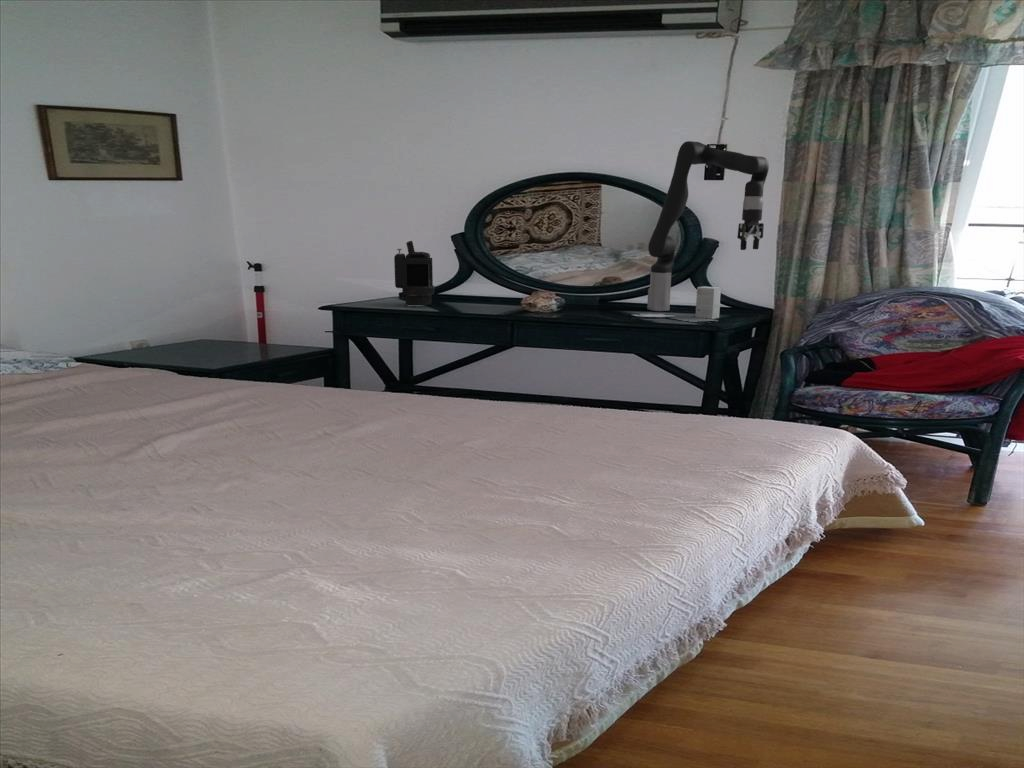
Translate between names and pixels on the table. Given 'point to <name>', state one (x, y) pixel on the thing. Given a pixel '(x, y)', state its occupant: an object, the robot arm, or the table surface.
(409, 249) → the black boxy device
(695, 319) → the mat
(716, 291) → the small box
